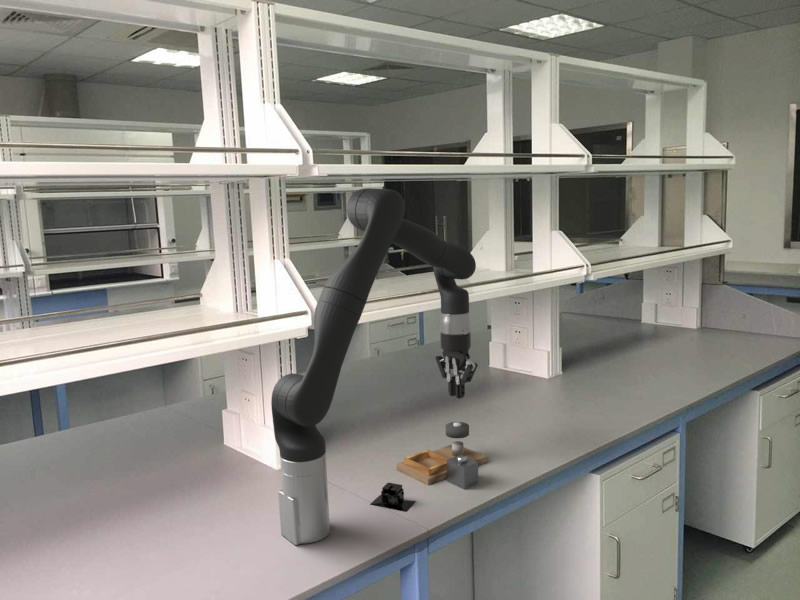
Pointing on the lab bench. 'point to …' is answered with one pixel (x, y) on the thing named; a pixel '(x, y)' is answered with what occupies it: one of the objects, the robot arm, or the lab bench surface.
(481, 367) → the lab bench surface
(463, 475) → the grey box with knob
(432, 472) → the wooden base board
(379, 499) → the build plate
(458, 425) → the wheel
